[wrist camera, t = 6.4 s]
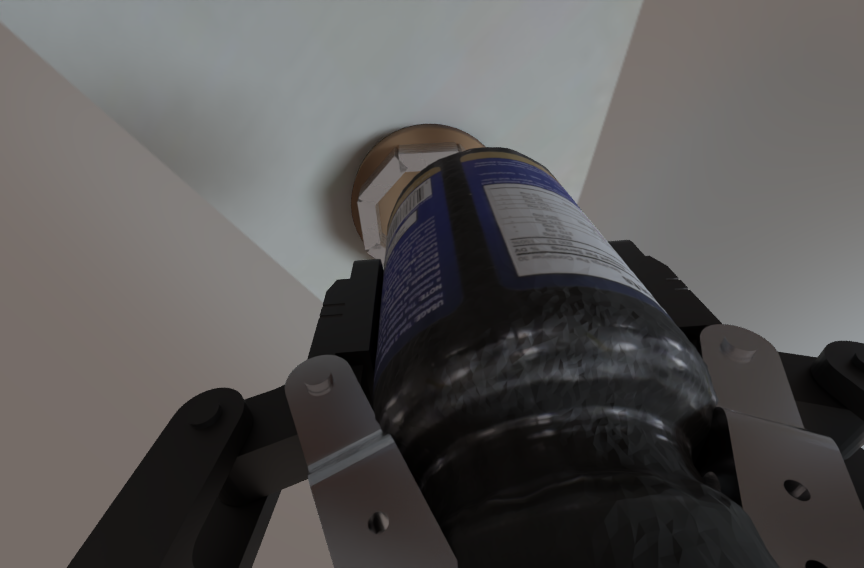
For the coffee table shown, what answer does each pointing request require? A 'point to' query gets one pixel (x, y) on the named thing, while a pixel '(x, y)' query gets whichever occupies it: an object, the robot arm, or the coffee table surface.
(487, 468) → the pill bottle
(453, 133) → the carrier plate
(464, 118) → the coffee table surface
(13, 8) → the coffee table surface
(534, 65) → the coffee table surface
